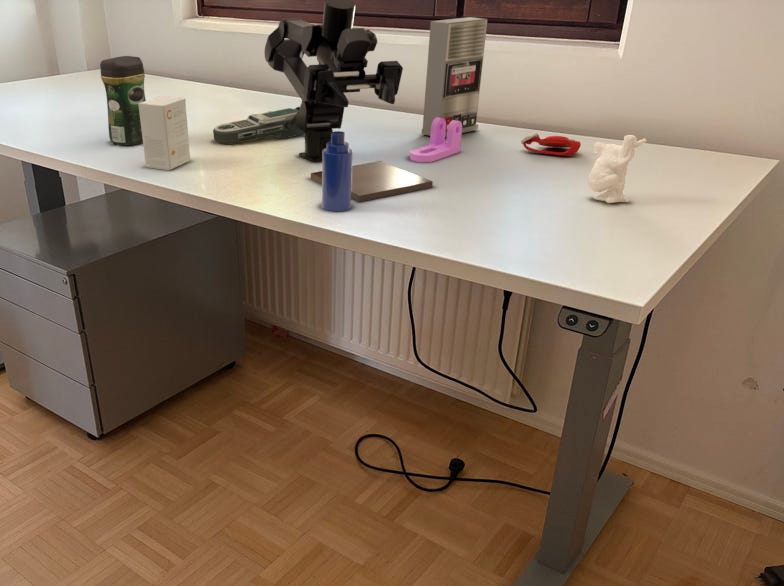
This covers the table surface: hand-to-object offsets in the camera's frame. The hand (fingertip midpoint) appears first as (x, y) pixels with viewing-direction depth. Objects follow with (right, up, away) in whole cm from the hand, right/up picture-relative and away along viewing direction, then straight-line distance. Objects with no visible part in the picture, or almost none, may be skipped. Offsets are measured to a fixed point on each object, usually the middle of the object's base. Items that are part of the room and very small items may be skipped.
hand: (370, 103), depth 133 cm
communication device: (-22, +7, +45) cm, 51 cm away
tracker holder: (+42, 0, +32) cm, 53 cm away
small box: (-41, -5, +24) cm, 48 cm away
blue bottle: (-6, -19, 0) cm, 20 cm away
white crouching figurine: (+43, -17, +2) cm, 47 cm away
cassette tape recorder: (+24, +9, +48) cm, 54 cm away
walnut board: (+1, -11, +12) cm, 17 cm away
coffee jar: (-53, +5, +41) cm, 67 cm away
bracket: (+16, -1, +30) cm, 34 cm away
